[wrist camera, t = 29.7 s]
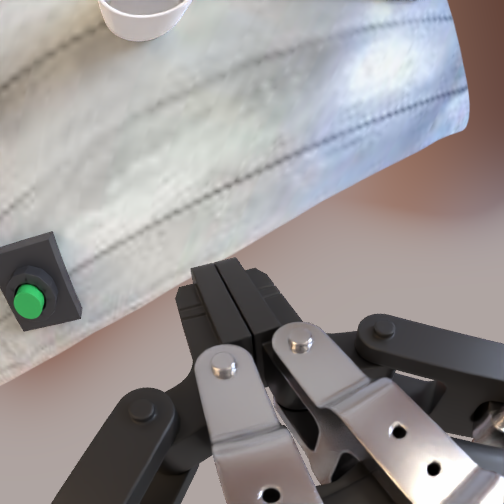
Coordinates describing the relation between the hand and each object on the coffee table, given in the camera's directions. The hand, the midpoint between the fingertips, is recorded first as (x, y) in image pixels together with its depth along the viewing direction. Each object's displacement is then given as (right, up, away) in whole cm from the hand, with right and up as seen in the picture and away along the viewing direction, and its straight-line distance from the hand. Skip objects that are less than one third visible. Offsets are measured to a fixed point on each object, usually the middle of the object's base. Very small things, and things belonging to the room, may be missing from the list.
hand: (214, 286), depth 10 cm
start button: (-24, -4, +18) cm, 30 cm away
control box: (-25, -2, +21) cm, 33 cm away
